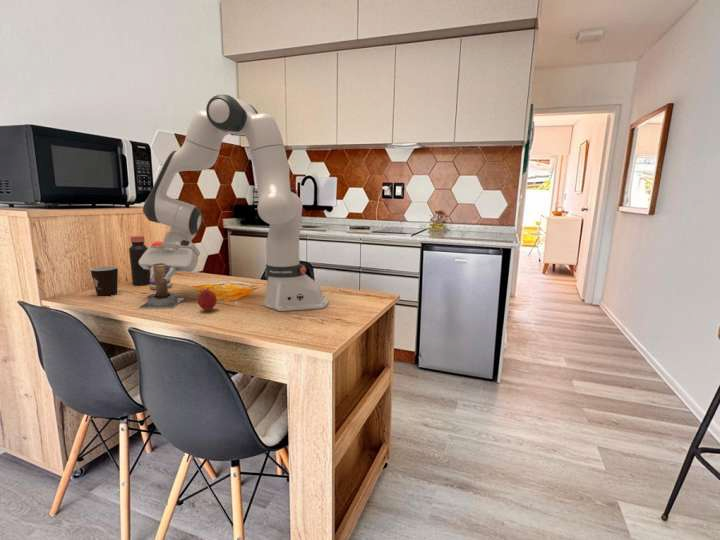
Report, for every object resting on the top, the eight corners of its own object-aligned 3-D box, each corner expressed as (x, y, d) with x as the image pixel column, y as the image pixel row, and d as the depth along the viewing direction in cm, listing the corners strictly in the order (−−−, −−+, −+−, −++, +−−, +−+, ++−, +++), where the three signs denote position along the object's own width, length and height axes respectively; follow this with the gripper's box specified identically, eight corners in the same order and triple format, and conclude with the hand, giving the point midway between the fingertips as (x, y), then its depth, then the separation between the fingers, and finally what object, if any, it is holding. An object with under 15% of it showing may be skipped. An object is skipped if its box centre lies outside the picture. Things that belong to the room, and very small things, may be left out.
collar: (184, 299, 143) (184, 291, 143) (173, 308, 133) (172, 299, 132) (153, 299, 143) (152, 291, 142) (139, 308, 132) (138, 300, 131)
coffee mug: (121, 295, 147) (118, 269, 145) (93, 298, 142) (90, 271, 140) (119, 288, 156) (116, 264, 154) (93, 291, 152) (89, 266, 150)
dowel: (169, 296, 139) (167, 263, 137) (165, 299, 135) (162, 265, 133) (159, 296, 139) (155, 263, 136) (154, 299, 135) (151, 265, 133)
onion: (215, 313, 128) (213, 289, 126) (196, 314, 127) (194, 290, 125) (218, 308, 133) (217, 285, 132) (200, 308, 132) (199, 285, 131)
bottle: (153, 282, 168) (149, 235, 164) (147, 285, 162) (142, 237, 157) (136, 282, 167) (131, 235, 163) (129, 286, 161) (124, 237, 157)
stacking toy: (163, 290, 155) (158, 243, 151) (145, 289, 156) (140, 242, 152) (176, 285, 162) (172, 240, 158) (159, 284, 164) (154, 239, 160)
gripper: (144, 240, 142) (127, 272, 134) (196, 242, 138) (181, 276, 131) (154, 251, 147) (138, 282, 140) (204, 253, 143) (190, 285, 136)
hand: (159, 279), depth 135 cm, fingers closed on dowel, 3 cm apart
